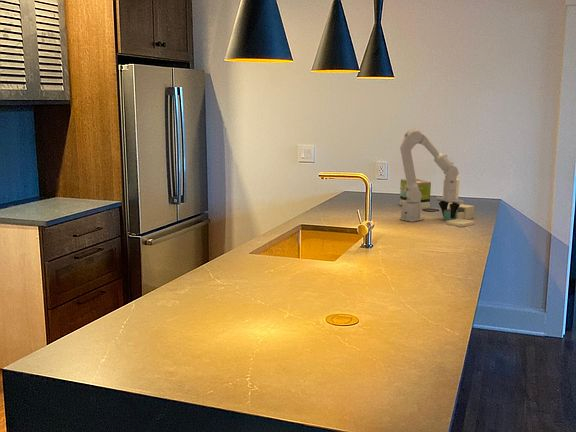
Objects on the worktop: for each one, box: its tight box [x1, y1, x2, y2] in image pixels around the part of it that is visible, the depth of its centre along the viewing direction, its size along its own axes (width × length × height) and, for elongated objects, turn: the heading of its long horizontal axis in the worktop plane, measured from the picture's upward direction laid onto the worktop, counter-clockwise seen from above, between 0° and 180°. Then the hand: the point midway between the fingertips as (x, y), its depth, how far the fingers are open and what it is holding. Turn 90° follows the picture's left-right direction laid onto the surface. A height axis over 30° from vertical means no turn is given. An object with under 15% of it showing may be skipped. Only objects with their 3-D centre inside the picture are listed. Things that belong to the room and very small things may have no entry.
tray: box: [445, 219, 475, 228], centre depth 312 cm, size 11×9×2 cm
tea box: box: [399, 178, 432, 210], centre depth 357 cm, size 15×10×15 cm, turn 25°
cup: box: [442, 177, 460, 209], centre depth 356 cm, size 8×8×16 cm
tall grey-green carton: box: [442, 208, 458, 221], centre depth 323 cm, size 6×4×5 cm, turn 132°
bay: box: [449, 203, 475, 220], centre depth 327 cm, size 12×10×6 cm
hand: (448, 217), depth 322 cm, fingers closed on tall grey-green carton, 4 cm apart
